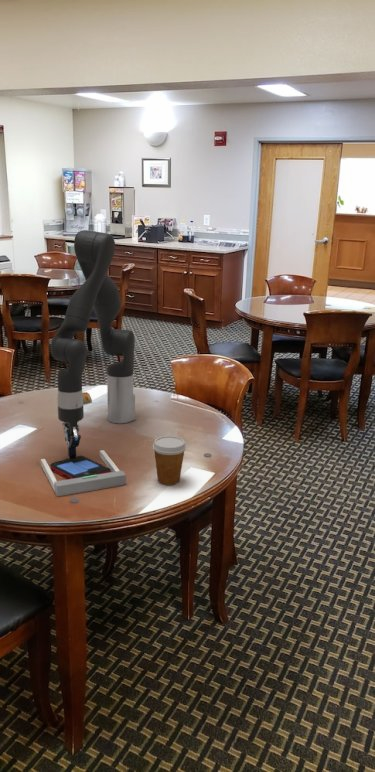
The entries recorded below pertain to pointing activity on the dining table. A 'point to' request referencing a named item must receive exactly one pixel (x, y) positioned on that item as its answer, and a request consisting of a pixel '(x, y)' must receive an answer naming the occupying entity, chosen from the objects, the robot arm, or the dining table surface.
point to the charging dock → (86, 479)
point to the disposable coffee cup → (169, 458)
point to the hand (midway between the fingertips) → (72, 457)
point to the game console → (78, 467)
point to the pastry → (86, 398)
